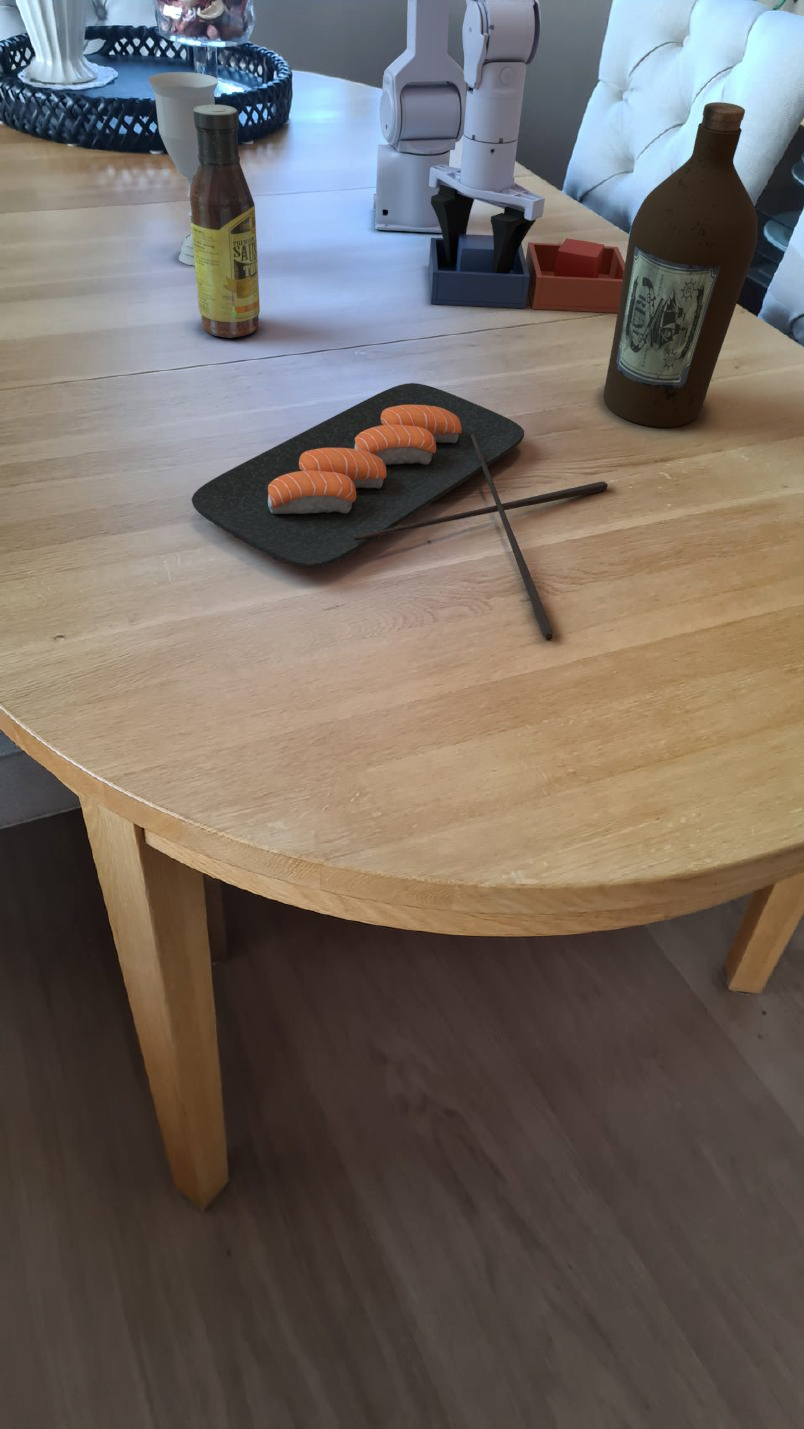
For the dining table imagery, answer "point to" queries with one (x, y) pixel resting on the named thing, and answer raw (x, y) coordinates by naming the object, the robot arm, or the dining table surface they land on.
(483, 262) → the blue block
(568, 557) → the dining table surface
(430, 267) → the blue bin
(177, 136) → the chalice
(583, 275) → the red block
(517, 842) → the dining table surface
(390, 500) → the sushi plate
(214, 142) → the sauce bottle
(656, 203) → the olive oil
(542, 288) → the red bin
